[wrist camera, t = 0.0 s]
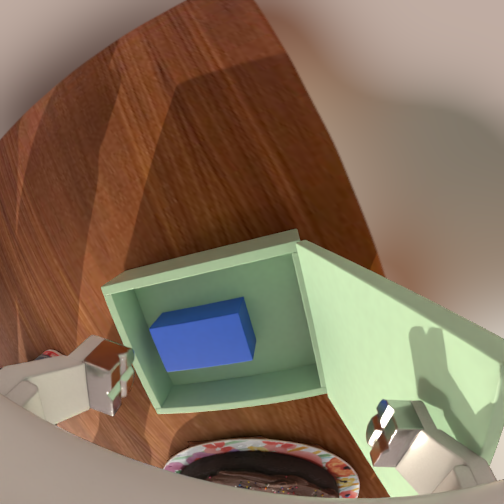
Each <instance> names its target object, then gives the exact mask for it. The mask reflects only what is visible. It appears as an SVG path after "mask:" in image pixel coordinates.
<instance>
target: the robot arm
mask: <svg viewBox="0 0 504 504" xmlns="http://www.w3.org/2000/svg"><path fill="white" fill-rule="evenodd" d="M134 360H135V353H134V350H133V348H130V347H127V346H124V345H121V344H118V343H116V342H113V341H110V340H107V339H105V338H102V337H99V336H96V335H91V336H89V337H88V338H87V339H86V340H85V341H84V342H83V343H82V344H80V345H79V346H78V347H77V348H76V349H75V350H74V351H73V352H72V353H70V354H69V355H68V356H65V355H60V356H56V357H51V358H46V359H41V360H36V361H30V362H25V363H20V364H14V365H9V366H4V367H3V368H2V369H1V370H0V504H504V479H503V480H499V481H497V480H496V478H495V476H494V474H493V472H492V470H491V468H490V466H489V465H488V463H487V461H486V460H485V459H483V458H482V457H480V456H478V455H477V454H476V453H475V452H473V451H472V450H470V449H469V448H467V447H466V446H464V445H463V444H461V443H460V442H458V441H457V440H455V439H454V438H453V437H451V436H450V435H448V434H447V433H445V432H444V431H442V430H441V429H437V428H436V426H435V424H434V422H433V420H432V418H431V416H430V414H429V412H428V410H427V408H426V406H425V404H424V403H423V402H422V401H421V400H408V401H405V400H389V399H382V400H381V401H380V402H379V404H378V406H377V408H376V409H377V412H378V413H377V414H376V415H375V416H373V417H372V418H371V419H370V421H369V423H368V425H367V430H366V440H367V444H368V445H369V446H371V447H372V450H371V451H370V457H371V461H372V465H373V467H395V469H396V470H397V471H398V472H399V473H400V474H401V475H402V477H403V478H404V479H405V480H406V481H407V482H408V483H409V484H410V485H411V486H412V488H413V489H414V490H415V491H416V492H417V493H418V494H419V495H414V496H403V497H388V498H324V497H308V496H296V495H286V494H278V493H270V492H263V491H256V490H250V489H244V488H238V487H233V486H228V485H223V484H218V483H214V482H209V481H205V480H201V479H197V478H193V477H189V476H185V475H182V474H178V473H175V472H171V471H168V470H164V469H161V468H158V467H155V466H152V465H149V464H146V463H143V462H140V461H137V460H134V459H131V458H129V457H126V456H123V455H121V454H118V453H116V452H113V451H110V450H108V449H106V448H103V447H101V446H98V445H96V444H94V443H91V442H89V441H87V440H85V439H83V438H80V437H78V436H76V435H74V434H72V433H70V432H68V431H66V430H64V429H62V428H60V427H58V426H56V425H55V424H57V423H59V422H62V421H64V420H66V419H69V418H71V417H73V416H75V415H78V414H80V413H82V412H84V411H87V410H89V409H90V408H92V409H94V410H97V411H100V412H102V413H105V414H108V415H111V416H114V415H115V413H116V412H117V410H118V409H119V407H120V406H121V404H122V401H121V398H123V397H126V396H127V395H128V394H129V392H130V391H131V388H132V385H133V382H134V369H133V367H132V366H131V364H132V363H133V361H134Z"/></svg>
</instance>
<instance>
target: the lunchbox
mask: <svg viewBox="0 0 504 504" xmlns="http://www.w3.org/2000/svg"><path fill="white" fill-rule="evenodd" d="M299 241H300V237H299V234H298V230H297V229H293V230H289V231H284V232H280V233H276V234H272V235H268V236H264V237H260V238H255V239H251V240H247V241H243V242H239V243H235V244H231V245H227V246H223V247H218V248H214V249H210V250H206V251H202V252H198V253H194V254H190V255H186V256H182V257H178V258H174V259H170V260H166V261H162V262H158V263H154V264H150V265H146V266H142V267H138V268H134V269H130V270H127V271H124V272H123V273H121V274H120V275H118V276H117V277H115V278H114V279H112V280H111V281H109V282H108V283H106V284H105V285H103V286H102V287H101V289H102V292H103V295H104V297H105V300H106V302H107V305H108V308H109V310H110V313H111V315H112V318H113V320H114V323H115V325H116V328H117V330H118V332H119V335H120V337H121V339H122V342H123V344H124V346H127V347H130V348H133V350H134V353H135V360H134V361H133V363H132V364H133V366H134V368H135V370H136V372H137V375H138V377H139V379H140V381H141V383H142V385H143V387H144V389H145V391H146V393H147V395H148V397H149V399H150V401H151V403H152V404H153V406H154V408H155V410H156V412H157V414H172V413H189V412H203V411H214V410H225V409H234V408H242V407H250V406H258V405H265V404H271V403H278V402H284V401H290V400H295V399H301V398H306V397H311V396H316V395H321V394H326V393H327V388H326V383H325V378H324V372H323V367H322V362H321V357H320V352H319V347H318V342H317V338H316V333H315V328H314V323H313V319H312V314H311V309H310V305H309V300H308V296H307V291H306V287H305V282H304V278H303V273H302V269H301V265H300V260H299V256H298V252H297V248H296V242H299ZM239 297H244V300H245V303H246V307H247V310H248V313H249V317H250V320H251V324H252V327H253V330H254V334H255V337H256V345H255V351H254V357H253V360H252V361H246V362H239V363H233V364H227V365H220V366H213V367H205V368H198V369H190V370H181V371H172V372H167V371H166V369H165V367H164V364H163V362H162V360H161V357H160V355H159V353H158V350H157V348H156V346H155V343H154V341H153V338H152V336H151V333H150V331H149V328H150V327H151V326H152V324H153V323H154V322H155V321H156V320H157V318H158V317H159V316H160V315H161V314H162V313H163V312H169V311H174V310H179V309H184V308H190V307H195V306H200V305H205V304H210V303H215V302H220V301H225V300H229V299H234V298H239Z"/></svg>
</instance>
